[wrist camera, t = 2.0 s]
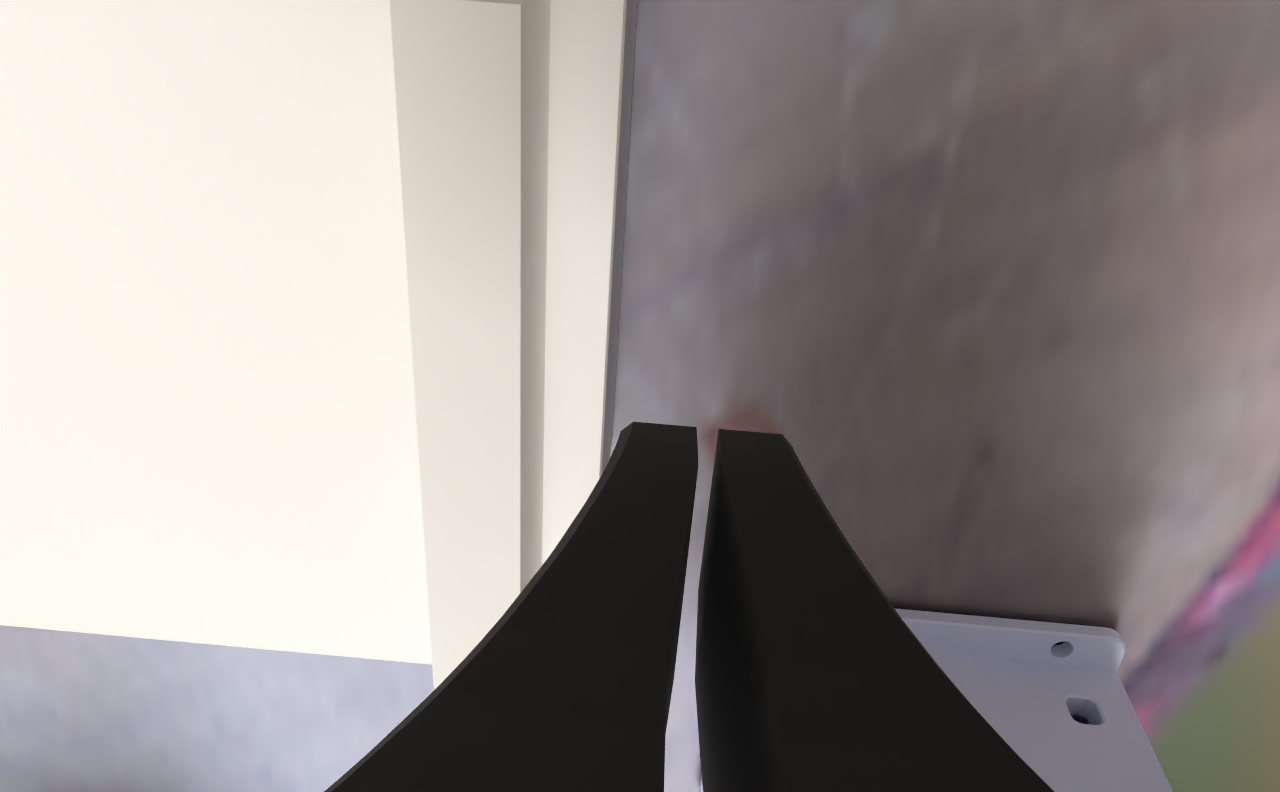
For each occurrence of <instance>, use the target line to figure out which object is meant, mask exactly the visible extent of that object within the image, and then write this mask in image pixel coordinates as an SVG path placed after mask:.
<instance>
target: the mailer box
mask: <svg viewBox="0 0 1280 792" xmlns="http://www.w3.org/2000/svg"><path fill="white" fill-rule="evenodd" d="M637 9H638V0H627V4H626V23H625V42H624V61H623V80H622V99H621V118H620V137H619V155H618V174H617V193H616V212H615V231H614V250H613V269H612V288H611V306H610V325H609V344H608V363H607V382H606V401H605V420H604V439H603V457H602V473H603V471H604V470H605V468H606V466H607V464H608V462H609V457H610V450H611V444H612V436H613V419H614V402H615V385H616V368H617V351H618V333H619V316H620V299H621V282H622V265H623V248H624V231H625V214H626V197H627V180H628V163H629V146H630V128H631V111H632V94H633V77H634V60H635V43H636V26H637Z"/></svg>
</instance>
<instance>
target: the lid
mask: <svg viewBox="0 0 1280 792" xmlns="http://www.w3.org/2000/svg"><path fill="white" fill-rule="evenodd" d="M626 4H627V0H0V625H5V626H16V627H27V628H38V629H49V630H60V631H71V632H82V633H93V634H104V635H115V636H126V637H137V638H148V639H159V640H170V641H181V642H192V643H203V644H214V645H225V646H236V647H246V648H257V649H268V650H279V651H290V652H301V653H312V654H323V655H334V656H345V657H356V658H367V659H378V660H389V661H400V662H411V663H422V664H432V670H433V685H434V689H436V688H437V687H438V686H439V685H440V684H441V683H442V682H443V681H444V680H445V679H446V678H447V677H448V676H449V674H450V673H451V672H452V671H453V670H454V669H455V668H456V667H457V666H458V665H459V664H460V663H461V662H462V661H463V660H464V659H465V658H466V657H467V655H468V654H469V653H470V652H471V651H472V650H473V649H474V648H475V647H476V646H477V644H478V643H479V642H480V641H481V640H482V639H483V638H484V637H485V635H486V634H487V633H488V632H489V631H490V630H491V628H492V627H493V626H494V625H495V624H496V623H497V622H498V620H499V619H500V618H501V617H502V616H503V614H504V613H505V612H506V611H507V609H508V608H509V607H510V606H511V604H512V603H513V602H514V601H515V599H516V598H517V597H518V596H519V594H520V593H521V592H522V590H523V589H524V588H525V587H526V585H527V584H528V583H529V582H530V580H531V579H532V578H533V576H534V575H535V574H536V573H537V571H538V570H539V569H540V568H541V566H542V565H543V564H544V562H545V561H546V560H547V558H548V557H549V556H550V554H551V553H552V552H553V550H554V549H555V547H556V546H557V544H558V543H559V541H560V540H561V538H562V537H563V535H564V534H565V532H566V531H567V529H568V528H569V526H570V525H571V523H572V522H573V520H574V519H575V517H576V516H577V514H578V513H579V511H580V510H581V508H582V507H583V505H584V504H585V502H586V501H587V499H588V497H589V496H590V494H591V492H592V491H593V489H594V487H595V485H596V484H597V482H598V480H599V479H600V477H601V475H602V457H603V439H604V420H605V401H606V382H607V363H608V344H609V325H610V306H611V288H612V269H613V250H614V231H615V212H616V193H617V174H618V155H619V137H620V118H621V99H622V80H623V61H624V42H625V23H626Z"/></svg>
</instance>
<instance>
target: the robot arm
mask: <svg viewBox="0 0 1280 792" xmlns="http://www.w3.org/2000/svg"><path fill="white" fill-rule="evenodd" d="M697 471H698V448H697V431H696V427H688V426H676V425H665V424H653V423H641V422H633V423H631V424H630V425H628V426H627V427H626V428H624V429H623V430H622V431H621V432H620V436H619V439H618V442H617V444H616V447H615V449H614V451H613V453H612V456H611V458H610V460H609V462H608V464H607V466H606V468H605V470H604V471H603V473H602V475H601V477H600V479H599V480H598V482H597V484H596V485H595V487H594V489H593V491H592V492H591V494H590V496H589V497H588V499H587V501H586V502H585V504H584V505H583V507H582V508H581V510H580V511H579V513H578V514H577V516H576V517H575V519H574V520H573V522H572V523H571V525H570V526H569V528H568V529H567V531H566V532H565V534H564V535H563V537H562V538H561V540H560V541H559V543H558V544H557V546H556V547H555V549H554V550H553V552H552V553H551V554H550V556H549V557H548V558H547V560H546V561H545V562H544V564H543V565H542V566H541V568H540V569H539V570H538V571H537V573H536V574H535V575H534V576H533V578H532V579H531V580H530V582H529V583H528V584H527V585H526V587H525V588H524V589H523V590H522V592H521V593H520V594H519V596H518V597H517V598H516V599H515V601H514V602H513V603H512V604H511V606H510V607H509V608H508V609H507V611H506V612H505V613H504V614H503V616H502V617H501V618H500V619H499V620H498V622H497V623H496V624H495V625H494V626H493V627H492V628H491V630H490V631H489V632H488V633H487V634H486V635H485V637H484V638H483V639H482V640H481V641H480V642H479V643H478V644H477V646H476V647H475V648H474V649H473V650H472V651H471V652H470V653H469V654H468V655H467V657H466V658H465V659H464V660H463V661H462V662H461V663H460V664H459V665H458V666H457V667H456V668H455V669H454V670H453V671H452V672H451V673H450V674H449V676H448V677H447V678H446V679H445V680H444V681H443V682H442V683H441V684H440V685H439V686H438V687H437V688H436V689H435V690H434V691H433V692H432V693H431V694H430V695H429V696H428V697H427V698H426V699H425V700H424V701H423V702H422V703H421V704H420V705H419V706H418V707H417V708H416V709H415V710H414V711H412V712H411V713H410V714H409V715H408V716H407V717H406V718H405V719H404V720H403V721H402V722H401V723H400V724H399V725H398V726H397V727H396V728H395V729H393V730H392V731H391V732H390V733H389V734H388V735H387V736H386V737H385V738H384V739H383V740H382V741H381V742H380V743H379V744H378V745H377V746H376V747H374V748H373V749H372V750H371V751H370V752H369V753H368V754H367V755H366V756H365V757H363V758H362V759H361V760H360V761H359V762H358V763H357V764H356V765H354V766H353V767H352V768H351V769H350V770H349V771H348V772H347V773H345V774H344V775H343V776H342V777H341V778H340V779H338V780H337V781H336V782H335V783H334V784H333V785H331V786H330V787H329V788H328V789H327V790H326V791H324V792H664V762H665V733H666V727H667V720H668V713H669V707H670V700H671V693H672V686H673V680H674V671H675V663H676V654H677V645H678V636H679V628H680V619H681V610H682V602H683V593H684V584H685V576H686V567H687V558H688V550H689V541H690V532H691V524H692V515H693V506H694V497H695V489H696V480H697ZM1063 641H1066V642H1065V643H1063V644H1061V645H1054V644H1056V643H1058V642H1063ZM1125 649H1126V647H1125V645H1124V643H1123V641H1122V639H1121V637H1120V635H1119V633H1118V632H1116V631H1115V630H1114V629H1110V628H1106V627H1096V626H1085V625H1073V624H1062V623H1051V622H1040V621H1029V620H1017V619H1006V618H995V617H984V616H973V615H961V614H950V613H939V612H928V611H917V610H905V609H894V607H893V606H892V605H891V603H890V602H889V601H888V599H887V598H886V597H885V595H884V594H883V592H882V591H881V590H880V588H879V587H878V585H877V584H876V582H875V581H874V579H873V578H872V576H871V575H870V574H869V572H868V571H867V569H866V568H865V566H864V565H863V563H862V562H861V560H860V559H859V558H858V556H857V555H856V553H855V552H854V550H853V549H852V547H851V546H850V544H849V543H848V541H847V540H846V538H845V537H844V535H843V534H842V532H841V530H840V529H839V527H838V526H837V524H836V523H835V521H834V519H833V518H832V516H831V514H830V513H829V511H828V509H827V508H826V506H825V505H824V503H823V501H822V500H821V498H820V496H819V495H818V493H817V491H816V489H815V488H814V486H813V484H812V483H811V481H810V479H809V477H808V475H807V474H806V472H805V470H804V468H803V466H802V465H801V463H800V461H799V459H798V457H797V455H796V453H795V451H794V449H793V448H792V446H791V444H790V443H789V442H788V441H787V440H786V438H785V437H784V436H783V435H782V434H771V433H759V432H748V431H736V430H724V429H719V430H718V438H717V446H716V454H715V462H714V470H713V478H712V486H711V494H710V502H709V509H708V517H707V525H706V533H705V541H704V549H703V557H702V565H701V573H700V581H699V590H698V615H697V640H696V670H695V687H696V702H697V716H698V730H699V744H700V758H701V772H702V776H701V783H700V790H699V792H1172V790H1171V788H1170V786H1169V784H1168V781H1167V779H1166V777H1165V775H1164V773H1163V771H1162V769H1161V766H1160V764H1159V762H1158V760H1157V758H1156V756H1155V754H1154V751H1153V749H1152V747H1151V745H1150V743H1149V741H1148V738H1147V736H1146V734H1145V732H1144V730H1143V728H1142V726H1141V723H1140V721H1139V719H1138V717H1137V715H1136V713H1135V711H1134V708H1133V706H1132V704H1131V702H1130V700H1129V698H1128V696H1127V693H1126V691H1125V689H1124V687H1123V685H1122V683H1121V681H1120V678H1119V676H1118V674H1117V670H1118V668H1119V666H1120V663H1121V661H1122V659H1123V657H1124V654H1125Z"/></svg>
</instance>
